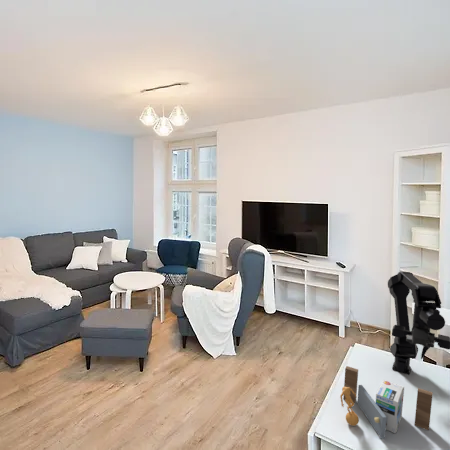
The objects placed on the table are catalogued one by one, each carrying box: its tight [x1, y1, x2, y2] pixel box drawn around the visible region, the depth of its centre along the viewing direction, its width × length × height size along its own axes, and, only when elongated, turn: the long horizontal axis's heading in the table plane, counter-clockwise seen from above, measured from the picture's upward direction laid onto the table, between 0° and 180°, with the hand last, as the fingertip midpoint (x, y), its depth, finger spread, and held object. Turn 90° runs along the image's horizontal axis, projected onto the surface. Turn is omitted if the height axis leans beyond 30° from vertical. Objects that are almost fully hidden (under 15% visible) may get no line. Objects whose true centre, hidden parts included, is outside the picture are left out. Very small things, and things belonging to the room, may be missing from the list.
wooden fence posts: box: [342, 365, 434, 431], centre depth 111 cm, size 2×26×12 cm, turn 56°
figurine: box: [339, 386, 360, 427], centre depth 106 cm, size 8×6×12 cm
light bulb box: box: [375, 379, 405, 434], centre depth 107 cm, size 11×7×11 cm, turn 142°
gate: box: [356, 384, 386, 439], centre depth 107 cm, size 2×16×7 cm, turn 3°
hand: (418, 357), depth 123 cm, fingers closed
